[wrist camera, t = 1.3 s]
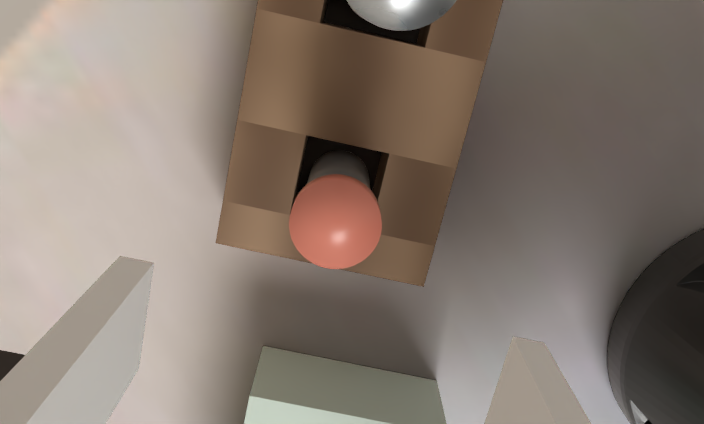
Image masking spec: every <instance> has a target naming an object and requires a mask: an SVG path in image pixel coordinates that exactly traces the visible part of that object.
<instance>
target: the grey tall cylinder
mask: <svg viewBox="0 0 704 424" xmlns="http://www.w3.org/2000/svg"><path fill="white" fill-rule="evenodd" d="M456 1H457V0H347V2H348V4H349V6H350V7H351V8H352V10H353V11H354V12H355V13H356V14H357V15H358V16H360V17H361V18H363V19H365V20H366V21H368V22H370V23H372V24H374V25H376V26H378V27H381V28H385V29H389V30H395V31H407V30H414V29H418V28H421V27H424V26H427V25H429V24H431V23H433V22H434V21H436V20H438V19H439V18H440V17H442V16H443V15H444V14H445V13H446V12H447V11H448V10H449V9H450V8H451V7H452V6H453V5H454V3H455V2H456Z"/></svg>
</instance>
